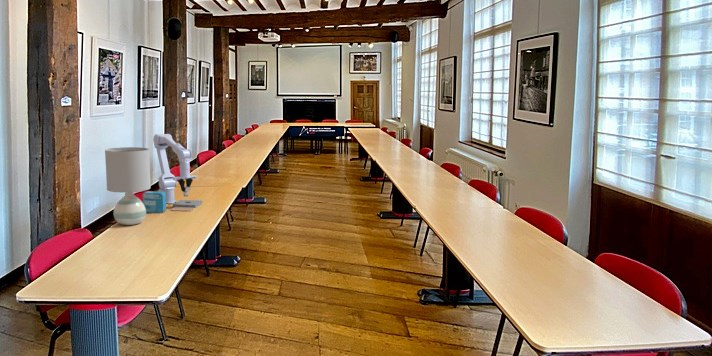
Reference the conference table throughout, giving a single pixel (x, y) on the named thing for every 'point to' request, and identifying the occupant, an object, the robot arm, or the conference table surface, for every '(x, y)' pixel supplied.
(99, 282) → the conference table surface
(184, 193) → the t key
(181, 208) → the tile
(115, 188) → the lamp
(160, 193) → the blue box
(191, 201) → the cover plate
